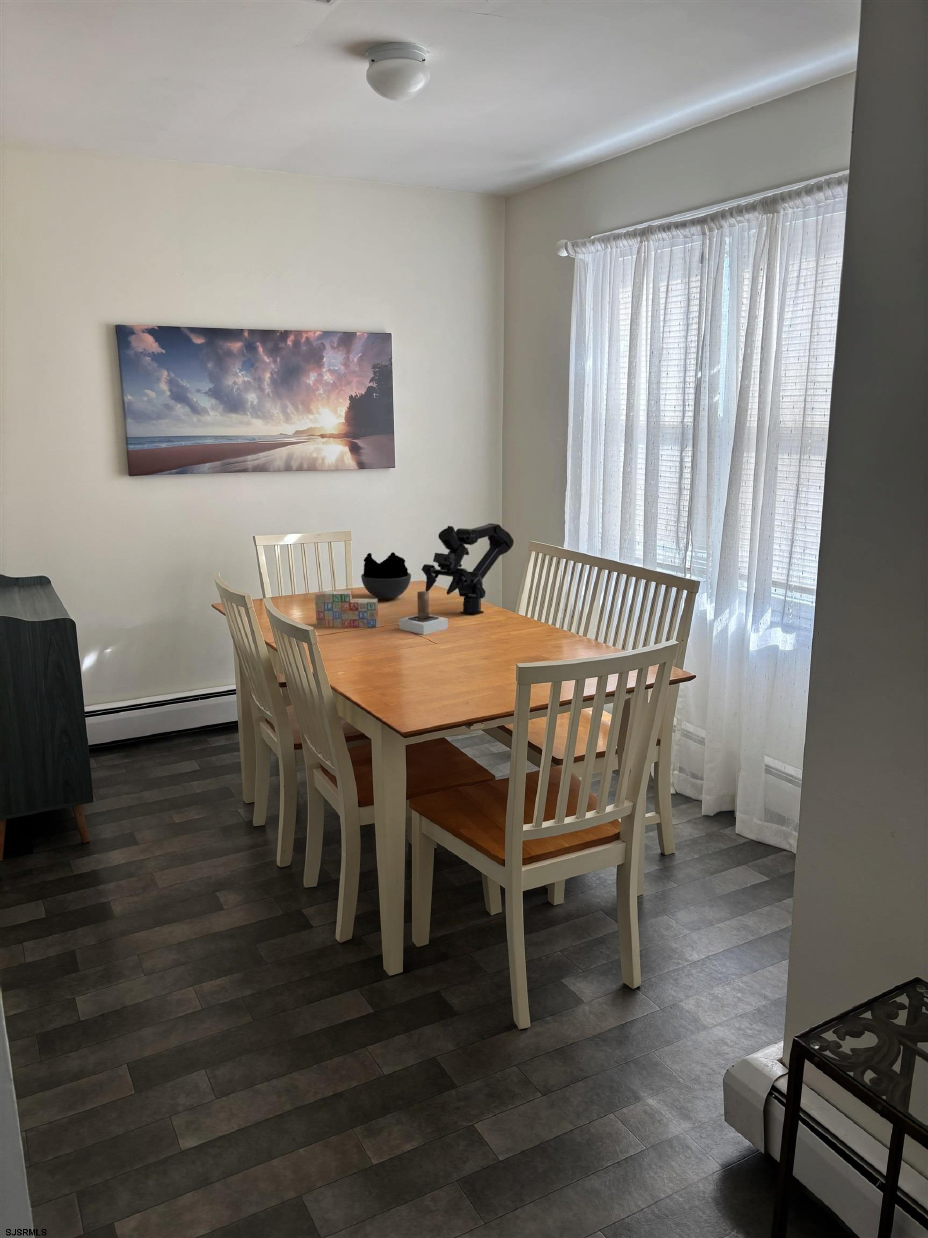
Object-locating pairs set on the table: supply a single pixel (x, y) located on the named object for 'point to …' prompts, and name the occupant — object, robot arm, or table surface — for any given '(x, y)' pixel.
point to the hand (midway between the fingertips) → (436, 592)
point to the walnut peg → (423, 605)
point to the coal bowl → (385, 576)
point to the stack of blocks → (345, 610)
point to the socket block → (423, 624)
